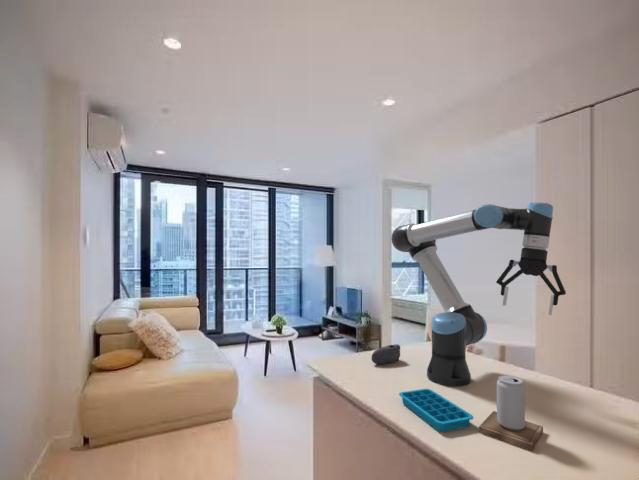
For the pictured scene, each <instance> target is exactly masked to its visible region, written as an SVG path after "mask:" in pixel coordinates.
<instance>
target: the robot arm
mask: <svg viewBox="0 0 639 480" xmlns="http://www.w3.org/2000/svg"><path fill="white" fill-rule="evenodd" d="M553 207H554V206H553V205H552V204H551V203H546V202H530V203H528V204H527V207H526V208H509V207H505V206H499V205H495V204H486V203H485V204H482V205H480V206H478V207H477V208H475V209H472V210H468V211H464V212H460V213H456V214H452V215H449V216H445V217H441V218H438V219H437V218H436V219H434V220H429V221H426V222H422V223H419V224H416V223H413V222H412V223H409V224H404V225H399V226H398V227H396V228H395V229H394V230H393V231H392V234H391V244H392V245H393V248H394V249H396V250H397V251H399V252H403V253H408V254H409V255H410V258H411V260H413V261H415V262H418V264H419V266H420V268H421V270H422V272H423V274H424V276H425V277H426V279H427V281H428V283H429V285H430V287H431V289H432V290H433V292H434V294H435V296H436V298H437V299H438V302H439V303H440V305H441V307H442V309H443V310H444V312H439V313H436V314H435V315H433V316H432V319H431V358H430V360H429V363H428V366H427V369H426V376H427V379H429V381H432V382H433V383H436V384H439V385H442V386H448V387H465V386H469V385H470V384H471V383H472V376H471V374H472V373H471V372H470V369H469V365H468V363H467V360H466V358H467V357H466V354H467V353H466V350H467V348H466V346H469V345H472V344H476V343H478V342H480V341H481V340H483V339H484V338H485V336H486V335H487V331H488V325H487V321H486V319H485V318H484V316H483V315H481V314H480V313H478V312H476V311H475V310H474V308H473V306H472V305H471V304H470V303H467V302H465V300H464V298H462V296H461V294H460V292H459V290H458V288H457V286H456V285H455V283H454V282H453V280H452V278H451V276H450V275H449V273H448V271H447V270H446V268H445V266H444V264H443V262H442V261H441V259H440V257H439V256H438V254H437V251H438V247H437V245H436V244H437V243H436V242H437V240H440V239H445V238H450V237H454V236H459V235H463V234H464V235H465V234H468V233H469V234H470V233H473V232H477V231H483V230H484V231H485V230H488V229H496V230H497V229H498V230H519V231H524V232H523V238H522V244H521V245H522V248H521V253H520V259H519V261H518V260H514V259H510V260H509V262H508V265H507V266H506V268H505V269H504V271H503V272H502V273H501V275H500V276H499V277H498V278H497V279H496V282H495V283H496V284H498V285H500V287H501V289H500V295H501V296H503V297H502V298H503V299H502V306H503V307H505V306H507V303H508V296H509V295H508V294H509V288H510V287H509V286H508V285H510V284H511V282H514V281H515V279H517V278H518V277H519V276H521V275H522V274H525V275H527V276H533V277H538V276H539V277H540V278H541V279H542V281H543V282H544V283H545V284H546V286H547V288H548V289H549V290H550V291H551V292H552V293H553V294H551V295H550V302H549V309H548V315H549V316H552V314H553V309H554V306H558V302H559V297H560V296H564V295H566V294H567V292H566V289H565V287H564V284H563V282H562V280H561V278H560V276H559V273H558V266H557V265H556V264H553V265H550V264H549V265H547V259H548V250H547V249H548V248H549V246H550V245H549V244H550V237H551V236H550V235H551V229H552V223H553V212H554V208H553ZM517 265H518V267H519V268H520V269H519V270H517V271H516V272H515V273H514V274H512V275H511V276H510V277H509V278H507V279H506V280H505V278H506V277H507V276H508V274H509V273H510V271H512V269H513V268H514V267H516V266H517ZM547 269H549V270H548V271H549V272H552V275H553V277H554V280H555V283H556V285H557V287H558V289H556V287H555V286H554V284H553V283H552V282H551V281H550V278H548V277H547V275H546V274H545V273H544V272H545V271H546V270H547ZM558 290H559V291H558Z"/></svg>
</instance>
